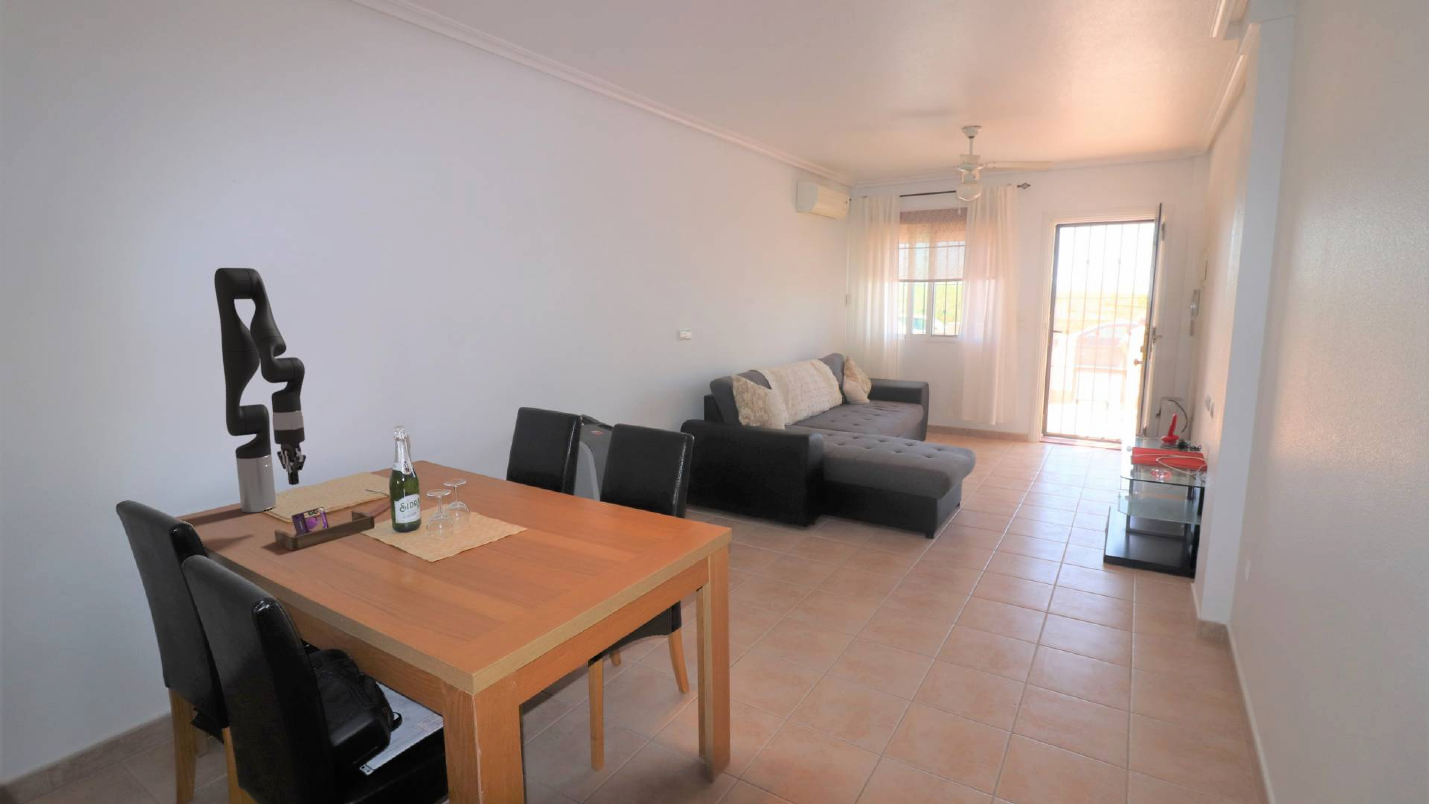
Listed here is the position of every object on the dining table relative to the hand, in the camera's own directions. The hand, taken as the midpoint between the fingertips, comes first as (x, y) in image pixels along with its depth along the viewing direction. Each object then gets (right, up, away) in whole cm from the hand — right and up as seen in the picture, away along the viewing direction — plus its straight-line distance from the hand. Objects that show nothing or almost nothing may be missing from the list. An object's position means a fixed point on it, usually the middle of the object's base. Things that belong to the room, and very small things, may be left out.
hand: (294, 484), depth 197 cm
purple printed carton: (+7, -14, -5) cm, 16 cm away
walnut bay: (+14, -14, -7) cm, 20 cm away
